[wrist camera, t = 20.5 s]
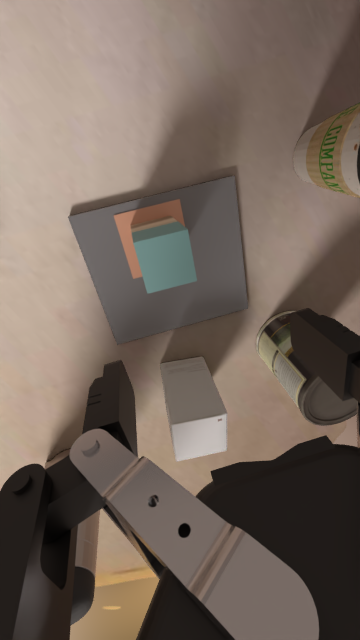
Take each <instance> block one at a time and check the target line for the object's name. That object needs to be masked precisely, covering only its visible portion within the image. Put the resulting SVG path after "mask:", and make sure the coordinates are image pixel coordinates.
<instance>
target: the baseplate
mask: <svg viewBox="0 0 360 640" xmlns="http://www.w3.org/2000/svg"><path fill="white" fill-rule="evenodd" d="M166 216H172V217H173V218H174V219H176V220H177V221H178V222H180V223H181V224H182V225H183V226H184V227H186V228H187V229H188V233H189V239H190V244H191V250H192V255H193V261H194V266H195V272H196V277H197V281H195V282H191V283H187V284H184V285H180V286H176V287H172V288H168V289H164V290H160V291H157V292H153V293H149V294H147V290H146V287H145V283H144V280H143V276H142V273H141V269H140V265H139V262H138V258H137V255H136V251H135V248H134V244H133V239H132V233H131V227H130V225H134V224H138V223H142V222H146V221H150V220H154V219H158V218H162V217H166ZM68 218H69V221H70V223H71V226H72V229H73V231H74V234H75V236H76V239H77V242H78V244H79V247H80V249H81V252H82V254H83V257H84V260H85V262H86V265H87V267H88V270H89V273H90V275H91V278H92V280H93V283H94V285H95V288H96V291H97V293H98V296H99V298H100V301H101V303H102V306H103V309H104V311H105V314H106V316H107V319H108V322H109V324H110V327H111V329H112V332H113V334H114V337H115V340H116V342H117V345H118V344H122V343H125V342H129V341H132V340H136V339H140V338H143V337H147V336H150V335H154V334H158V333H161V332H165V331H168V330H172V329H176V328H179V327H183V326H186V325H190V324H194V323H197V322H201V321H204V320H208V319H212V318H215V317H219V316H222V315H226V314H230V313H233V312H237V311H240V310H244V309H248V302H247V292H246V282H245V273H244V263H243V253H242V243H241V233H240V223H239V213H238V203H237V194H236V184H235V176H229V177H225V178H221V179H216V180H212V181H208V182H204V183H200V184H196V185H192V186H188V187H184V188H180V189H176V190H172V191H168V192H164V193H160V194H156V195H152V196H148V197H144V198H140V199H136V200H132V201H128V202H123V203H119V204H115V205H111V206H107V207H103V208H99V209H95V210H91V211H87V212H83V213H79V214H75V215H71V216H69V217H68Z"/></svg>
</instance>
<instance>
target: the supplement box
mask: <svg viewBox="0 0 360 640" xmlns="http://www.w3.org/2000/svg"><path fill="white" fill-rule="evenodd" d="M160 368H161V375H162V383H163V390H164V397H165V404H166V410H167V415H168V421H169V427H170V432H171V438H172V444H173V449H174V454H175V459H176V461H182V460H186V459H191V458H196V457H200V456H205V455H209V454H213V453H218V452H222V451H226V450H227V411H226V409H225V406H224V404H223V402H222V399H221V397H220V395H219V392H218V390H217V388H216V385H215V383H214V381H213V378H212V376H211V374H210V371H209V369H208V367H207V364H206V362H205V360H204V357H203V356H202V357H195V358H190V359H183V360H177V361H171V362H165V363H161V364H160Z"/></svg>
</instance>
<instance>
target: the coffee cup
mask: <svg viewBox="0 0 360 640" xmlns="http://www.w3.org/2000/svg"><path fill="white" fill-rule="evenodd" d="M293 165H294V169H295V172H296V174H297V175H298V177H299V178H300V179H301V180H303V181H305V182H309V183H313V184H316V185H318V186H319V187H322V188H326V189H329V190H333V191H336V192H340V193H344V194H347V195H351V196H355V197H358V198H360V103H358V104H356V105H354V106H352V107H350V108H348V109H346V110H344V111H342V112H340V113H338V114H336V115H334V116H332V117H329V118H328V119H327V120H325V121H324V122H322V123H320V124H318V125H316V126H314V127H311V128H310V129H308V130H307V131H306V132H305V133H304V134H303V135H302V136H301V138H300V139H299V140H298V143H297V145H296V147H295V150H294V155H293Z"/></svg>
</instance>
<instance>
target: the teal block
mask: <svg viewBox="0 0 360 640" xmlns="http://www.w3.org/2000/svg"><path fill="white" fill-rule="evenodd" d="M132 239H133V244H134V248H135V251H136V255H137V258H138V262H139V265H140V269H141V273H142V276H143V280H144V283H145V287H146V290H147V294H149V293H153V292H157V291H160V290H164V289H168V288H172V287H176V286H180V285H184V284H187V283H191V282H195V281H197V277H196V272H195V266H194V261H193V255H192V250H191V244H190V239H189V233H188V229H187V228H186V227H184V226H183V225H182V224H181V223H180V222H178V221H177V222H173V223H169V224H165V225H161V226H157V227H153V228H149V229H144V230H140V231H136V232H132Z"/></svg>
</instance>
